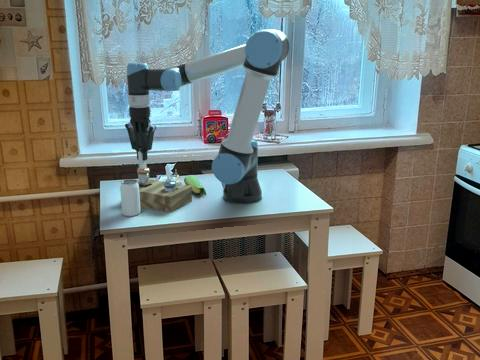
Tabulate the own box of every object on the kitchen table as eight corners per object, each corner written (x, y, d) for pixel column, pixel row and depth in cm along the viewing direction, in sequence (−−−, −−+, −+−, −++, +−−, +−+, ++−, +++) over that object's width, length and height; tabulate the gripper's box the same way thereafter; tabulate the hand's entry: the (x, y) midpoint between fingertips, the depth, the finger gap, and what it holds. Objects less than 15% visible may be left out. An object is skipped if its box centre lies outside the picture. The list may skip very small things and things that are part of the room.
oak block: (192, 201, 194) (191, 186, 193) (171, 212, 182) (170, 196, 181) (145, 192, 204) (145, 178, 202) (123, 203, 192) (121, 188, 190)
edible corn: (194, 174, 215) (184, 172, 213) (209, 188, 198) (198, 187, 196) (191, 185, 216) (181, 183, 214) (205, 201, 199) (195, 199, 197)
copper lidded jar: (152, 188, 196) (151, 168, 193) (145, 191, 192) (144, 171, 189) (143, 186, 198) (142, 166, 195) (135, 190, 194) (134, 169, 191)
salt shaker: (179, 202, 191) (178, 181, 189) (172, 206, 188) (171, 184, 185) (169, 200, 193) (168, 180, 191) (162, 204, 190) (161, 183, 187)
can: (139, 216, 179) (137, 184, 175) (121, 217, 178) (118, 184, 175) (141, 210, 185) (139, 178, 182) (123, 210, 185) (121, 179, 181)
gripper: (118, 106, 185) (122, 168, 192) (147, 108, 179) (150, 172, 186) (131, 103, 191) (135, 163, 198) (160, 105, 186) (162, 168, 193)
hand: (142, 168), depth 192 cm, fingers closed
